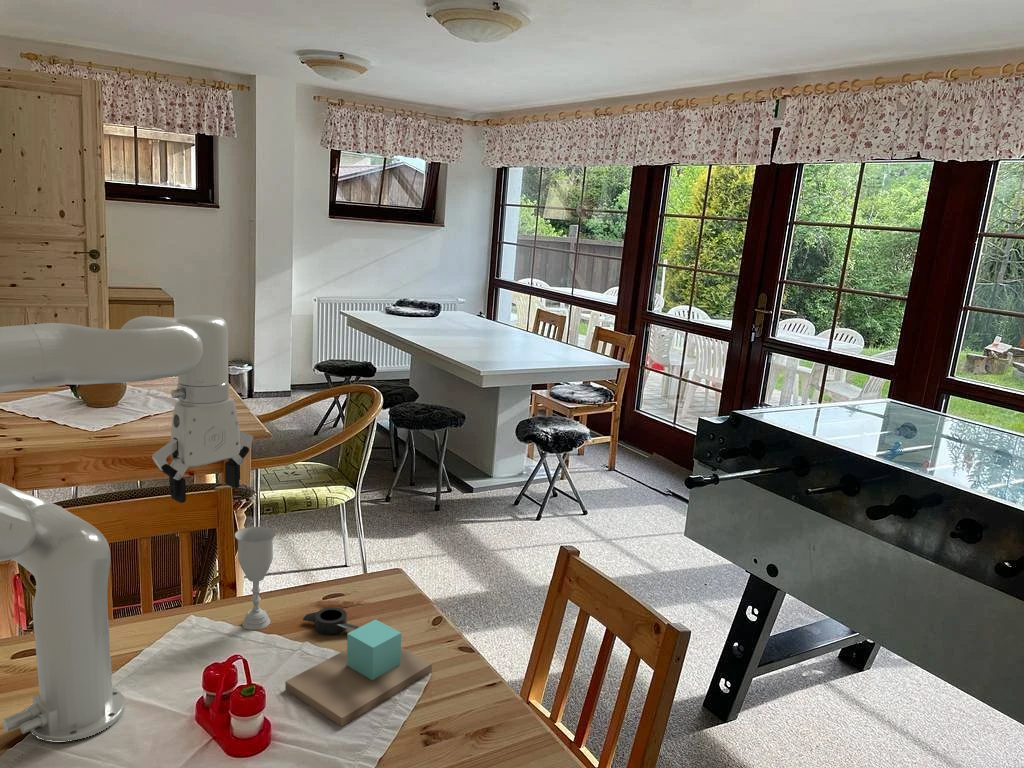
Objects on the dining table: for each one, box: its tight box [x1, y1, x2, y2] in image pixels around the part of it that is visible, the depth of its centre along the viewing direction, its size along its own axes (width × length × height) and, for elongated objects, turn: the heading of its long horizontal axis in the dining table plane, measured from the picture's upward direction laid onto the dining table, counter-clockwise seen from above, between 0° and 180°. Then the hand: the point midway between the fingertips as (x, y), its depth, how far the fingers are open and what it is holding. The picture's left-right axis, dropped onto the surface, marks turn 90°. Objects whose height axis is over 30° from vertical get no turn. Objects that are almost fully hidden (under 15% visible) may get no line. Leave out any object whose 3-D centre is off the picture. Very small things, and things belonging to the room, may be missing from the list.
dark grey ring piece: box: [302, 606, 360, 637], centre depth 146 cm, size 8×10×3 cm
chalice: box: [234, 526, 276, 631], centre depth 145 cm, size 7×7×18 cm
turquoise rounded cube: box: [346, 619, 402, 680], centre depth 133 cm, size 6×6×6 cm
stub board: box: [284, 646, 433, 727], centre depth 131 cm, size 20×14×6 cm
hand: (206, 492), depth 128 cm, fingers open, 9 cm apart
